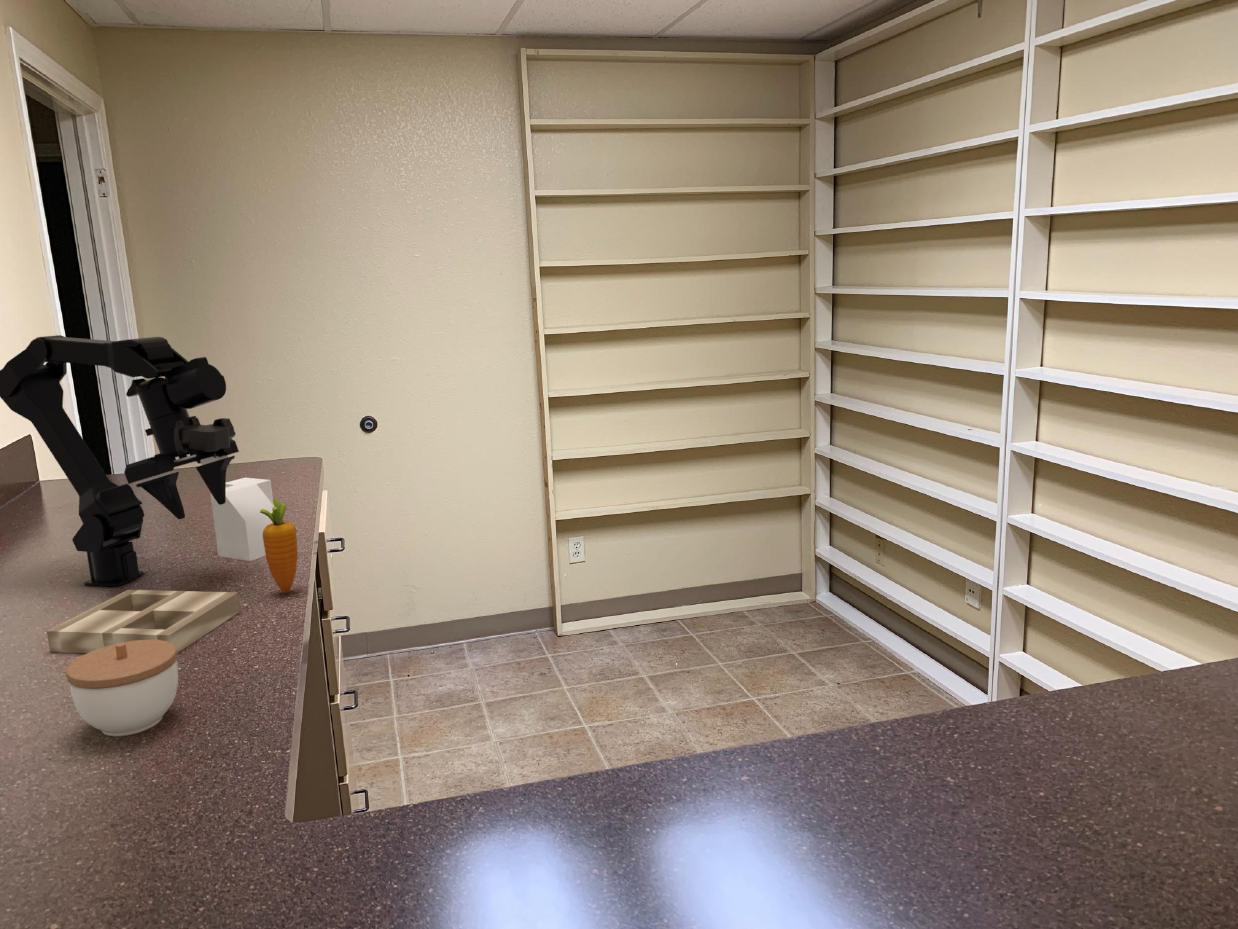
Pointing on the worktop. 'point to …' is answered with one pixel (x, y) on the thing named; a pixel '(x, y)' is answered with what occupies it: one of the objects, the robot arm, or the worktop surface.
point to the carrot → (280, 547)
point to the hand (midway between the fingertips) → (202, 511)
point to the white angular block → (243, 518)
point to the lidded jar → (125, 685)
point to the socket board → (145, 619)
